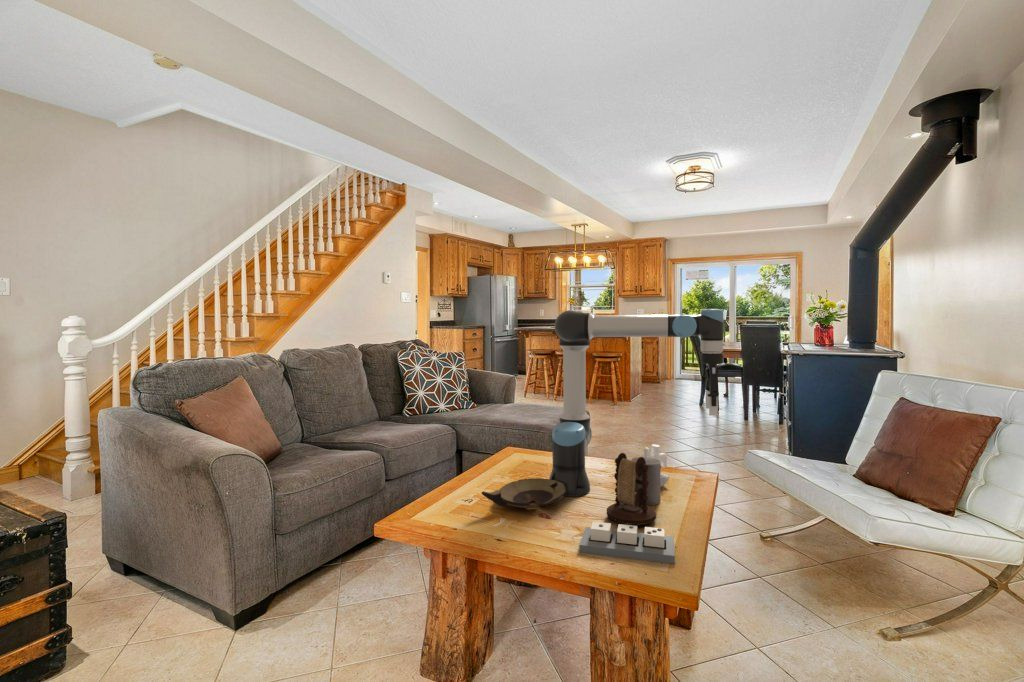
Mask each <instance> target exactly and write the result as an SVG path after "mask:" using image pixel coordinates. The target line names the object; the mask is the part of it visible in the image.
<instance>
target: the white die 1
mask: <svg viewBox="0 0 1024 682" xmlns="http://www.w3.org/2000/svg"><path fill="white" fill-rule="evenodd" d="M591 523H592V524H591V526H590V527H591V541H597V542H606V543H609V542H610V543H611V541H610V537H611V530H612V523H610V522H602V521H592V522H591Z"/></svg>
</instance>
